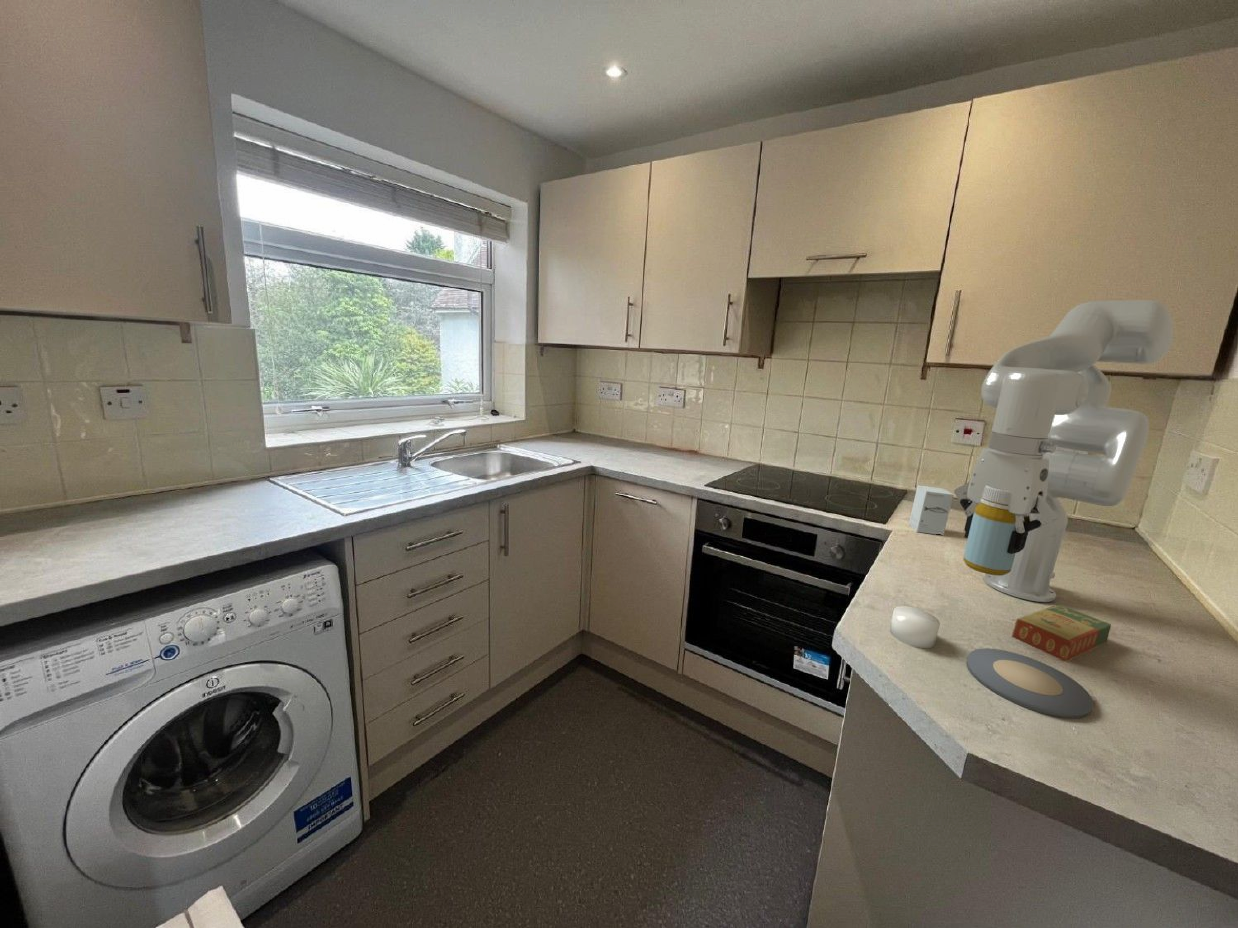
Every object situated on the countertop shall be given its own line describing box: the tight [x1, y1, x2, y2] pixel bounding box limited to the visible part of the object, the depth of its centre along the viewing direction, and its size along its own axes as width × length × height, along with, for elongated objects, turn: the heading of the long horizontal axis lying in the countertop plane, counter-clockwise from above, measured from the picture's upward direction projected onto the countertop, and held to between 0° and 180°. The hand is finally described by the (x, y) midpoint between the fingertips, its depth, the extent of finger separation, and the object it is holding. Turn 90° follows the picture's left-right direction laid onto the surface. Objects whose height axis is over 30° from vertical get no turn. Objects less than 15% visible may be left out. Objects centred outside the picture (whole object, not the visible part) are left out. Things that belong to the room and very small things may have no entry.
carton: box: [1011, 603, 1112, 662], centre depth 90 cm, size 8×16×4 cm, turn 118°
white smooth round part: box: [888, 605, 941, 649], centre depth 87 cm, size 7×7×4 cm
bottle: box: [962, 486, 1016, 576], centre depth 87 cm, size 7×7×15 cm
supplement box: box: [908, 484, 954, 536], centre depth 146 cm, size 7×7×13 cm
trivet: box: [966, 647, 1094, 719], centre depth 76 cm, size 15×15×1 cm
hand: (991, 543), depth 88 cm, fingers closed on bottle, 6 cm apart
